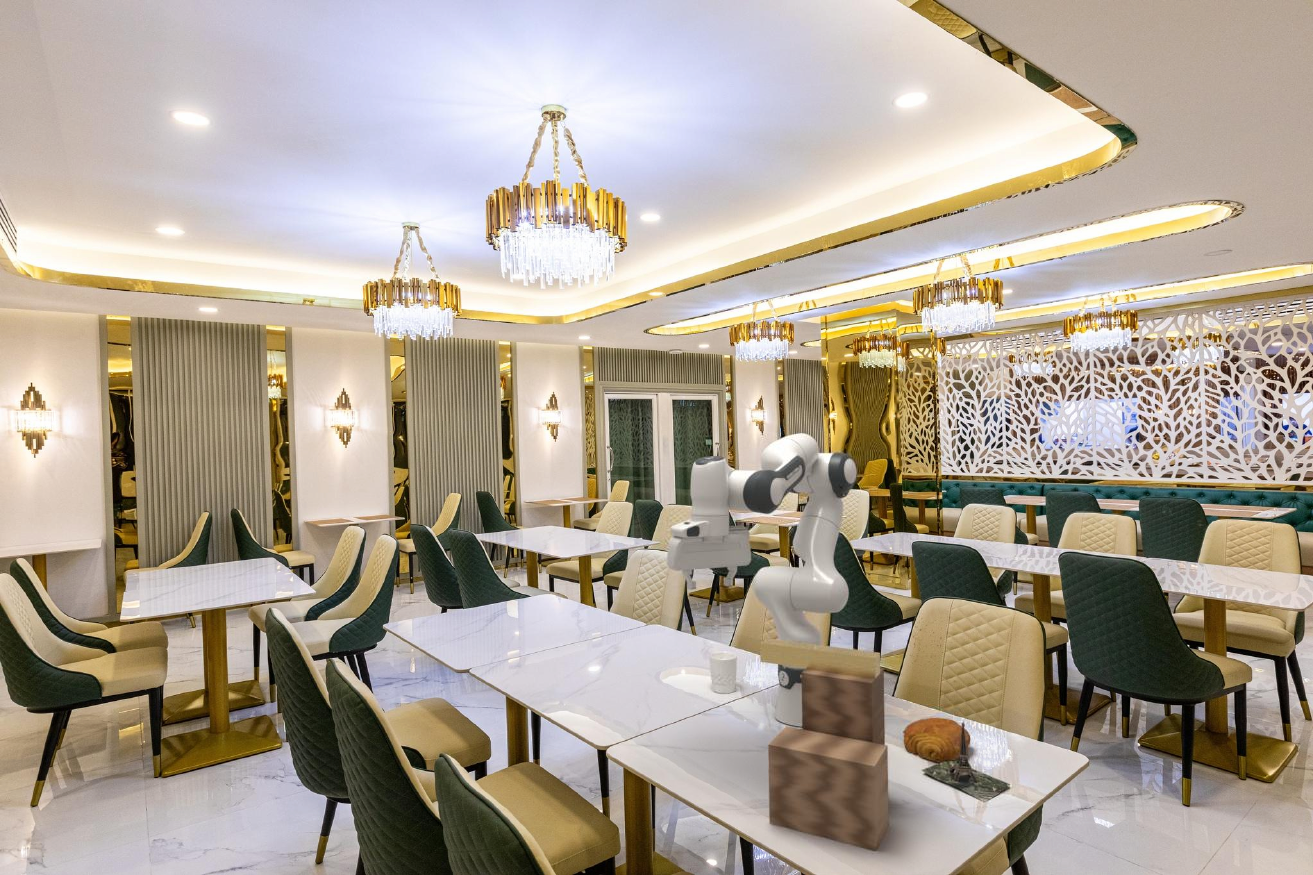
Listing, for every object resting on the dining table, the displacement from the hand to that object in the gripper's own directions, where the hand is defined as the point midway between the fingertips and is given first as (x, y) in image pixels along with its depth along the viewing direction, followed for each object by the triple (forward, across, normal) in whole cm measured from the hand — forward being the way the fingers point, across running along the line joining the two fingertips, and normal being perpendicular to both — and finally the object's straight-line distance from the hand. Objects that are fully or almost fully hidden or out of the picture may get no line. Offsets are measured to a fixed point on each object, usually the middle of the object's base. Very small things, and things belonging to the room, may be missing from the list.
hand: (710, 587), depth 170 cm
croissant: (+39, -50, +18) cm, 66 cm away
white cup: (+39, -25, -40) cm, 61 cm away
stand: (+39, -11, +31) cm, 52 cm away
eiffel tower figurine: (+39, -44, +33) cm, 67 cm away
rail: (+13, -12, +24) cm, 30 cm away
